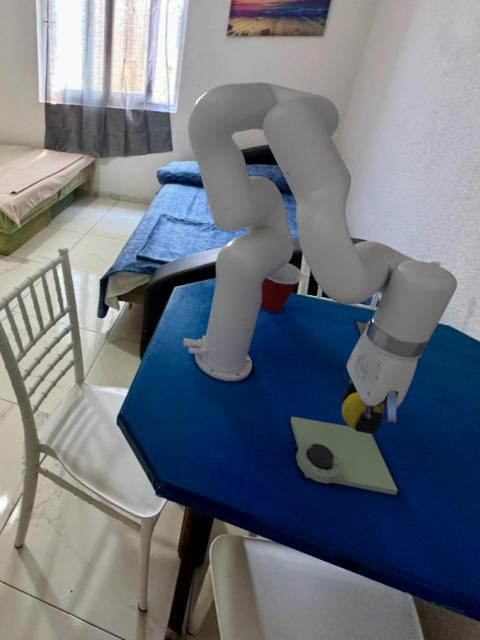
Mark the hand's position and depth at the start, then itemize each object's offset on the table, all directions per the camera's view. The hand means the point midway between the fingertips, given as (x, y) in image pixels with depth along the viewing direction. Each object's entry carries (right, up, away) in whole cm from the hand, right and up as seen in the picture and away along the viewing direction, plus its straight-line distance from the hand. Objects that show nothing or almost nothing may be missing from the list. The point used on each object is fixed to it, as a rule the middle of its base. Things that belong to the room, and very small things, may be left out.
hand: (358, 415), depth 72 cm
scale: (-3, -7, +1) cm, 8 cm away
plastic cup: (+3, +14, +42) cm, 44 cm away
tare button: (-8, -6, -3) cm, 11 cm away
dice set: (+26, +8, +32) cm, 42 cm away
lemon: (0, -3, +1) cm, 3 cm away
